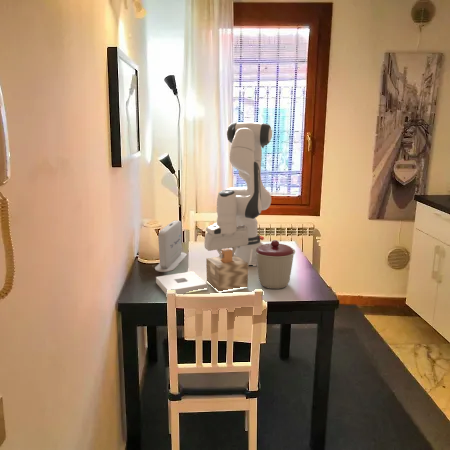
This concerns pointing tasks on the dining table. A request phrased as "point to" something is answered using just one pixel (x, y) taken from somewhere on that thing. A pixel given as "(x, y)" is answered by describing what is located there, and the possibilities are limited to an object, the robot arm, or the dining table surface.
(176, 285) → the socket plate
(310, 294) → the dining table surface
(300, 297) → the dining table surface
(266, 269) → the canister
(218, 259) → the notched wooden cube
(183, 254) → the wireless router
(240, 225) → the robot arm
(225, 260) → the peg
